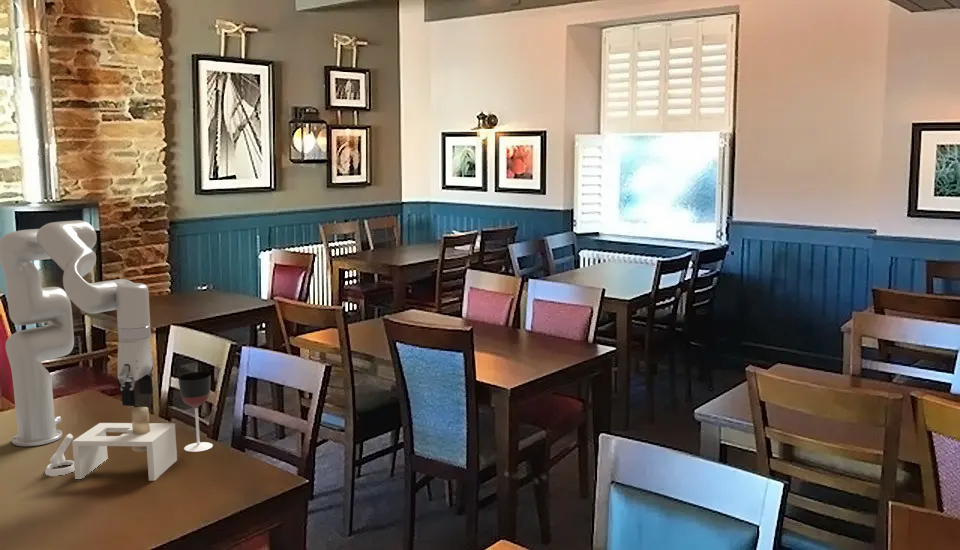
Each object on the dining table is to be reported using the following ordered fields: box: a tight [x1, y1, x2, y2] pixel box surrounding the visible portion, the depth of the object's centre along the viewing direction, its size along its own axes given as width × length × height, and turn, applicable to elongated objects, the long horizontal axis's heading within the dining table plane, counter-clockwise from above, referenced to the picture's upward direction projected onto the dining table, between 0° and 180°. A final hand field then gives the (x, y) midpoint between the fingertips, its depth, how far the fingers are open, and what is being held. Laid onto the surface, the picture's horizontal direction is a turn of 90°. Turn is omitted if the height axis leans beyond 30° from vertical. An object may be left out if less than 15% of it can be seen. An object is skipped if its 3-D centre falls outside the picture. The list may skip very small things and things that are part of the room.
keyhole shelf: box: [71, 422, 178, 482], centre depth 214 cm, size 20×14×10 cm
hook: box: [44, 433, 75, 477], centre depth 214 cm, size 8×12×7 cm
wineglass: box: [178, 371, 214, 453], centre depth 230 cm, size 8×9×20 cm
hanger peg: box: [130, 406, 150, 453], centre depth 213 cm, size 5×5×10 cm
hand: (138, 399), depth 212 cm, fingers open, 9 cm apart
